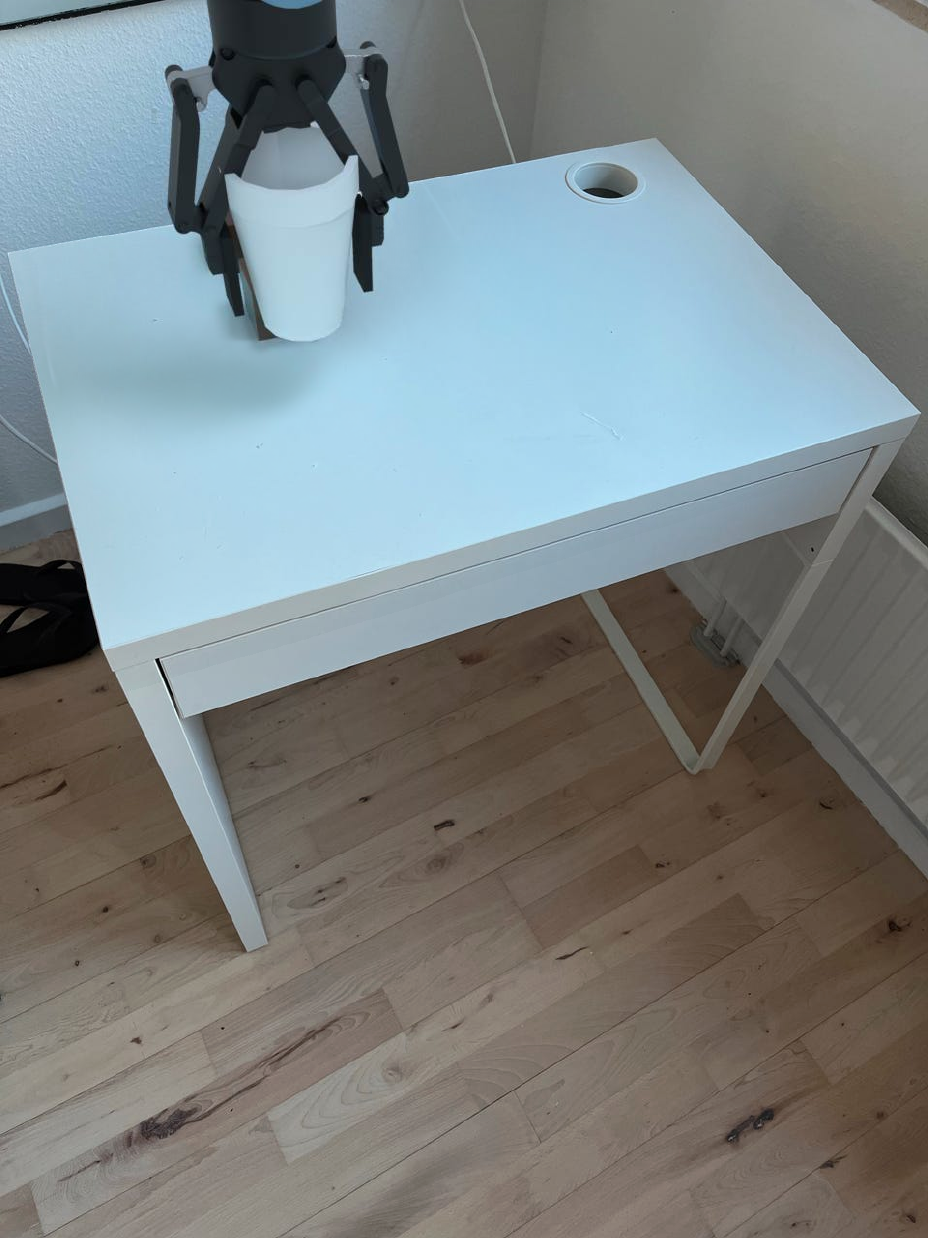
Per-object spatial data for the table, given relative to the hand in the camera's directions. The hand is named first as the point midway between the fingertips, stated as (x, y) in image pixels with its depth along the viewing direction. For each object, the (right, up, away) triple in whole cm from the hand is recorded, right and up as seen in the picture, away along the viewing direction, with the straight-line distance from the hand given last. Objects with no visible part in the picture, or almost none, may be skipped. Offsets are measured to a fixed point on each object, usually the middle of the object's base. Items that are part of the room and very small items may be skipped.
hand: (300, 292), depth 72 cm
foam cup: (0, -1, +2) cm, 2 cm away
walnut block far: (-8, +10, +18) cm, 22 cm away
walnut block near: (-4, +2, +13) cm, 14 cm away
